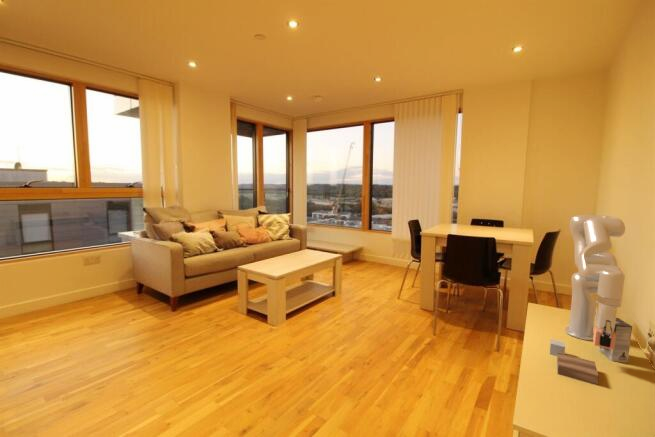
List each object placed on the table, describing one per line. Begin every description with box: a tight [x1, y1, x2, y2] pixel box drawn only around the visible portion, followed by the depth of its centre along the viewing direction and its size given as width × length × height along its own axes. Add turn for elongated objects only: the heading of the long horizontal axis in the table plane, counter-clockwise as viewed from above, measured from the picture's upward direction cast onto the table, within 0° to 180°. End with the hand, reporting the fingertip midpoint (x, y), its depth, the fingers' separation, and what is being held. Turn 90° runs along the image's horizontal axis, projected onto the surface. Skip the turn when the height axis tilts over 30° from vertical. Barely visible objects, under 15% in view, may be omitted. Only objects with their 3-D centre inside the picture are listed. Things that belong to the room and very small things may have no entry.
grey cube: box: [549, 339, 566, 357], centre depth 140 cm, size 5×5×5 cm
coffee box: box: [598, 317, 633, 363], centre depth 138 cm, size 9×6×16 cm
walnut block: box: [556, 353, 599, 386], centre depth 126 cm, size 12×12×4 cm
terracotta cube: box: [592, 325, 616, 350], centre depth 130 cm, size 6×6×6 cm
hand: (603, 342), depth 130 cm, fingers closed on terracotta cube, 6 cm apart
